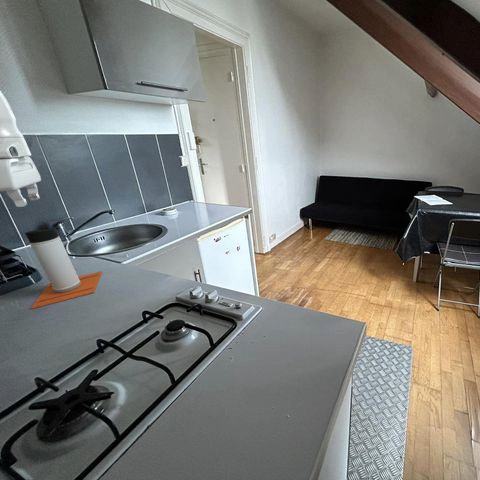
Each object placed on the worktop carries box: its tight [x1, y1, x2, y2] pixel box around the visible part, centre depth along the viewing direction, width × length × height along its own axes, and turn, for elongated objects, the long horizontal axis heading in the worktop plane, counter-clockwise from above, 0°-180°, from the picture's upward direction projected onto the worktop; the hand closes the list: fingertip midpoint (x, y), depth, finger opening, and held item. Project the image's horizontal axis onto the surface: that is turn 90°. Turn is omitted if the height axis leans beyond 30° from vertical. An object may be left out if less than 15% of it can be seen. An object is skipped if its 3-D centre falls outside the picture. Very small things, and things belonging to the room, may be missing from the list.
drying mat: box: [30, 270, 103, 310], centre depth 82 cm, size 14×16×1 cm
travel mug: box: [24, 227, 81, 293], centre depth 78 cm, size 6×7×20 cm
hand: (29, 202), depth 72 cm, fingers open, 8 cm apart
